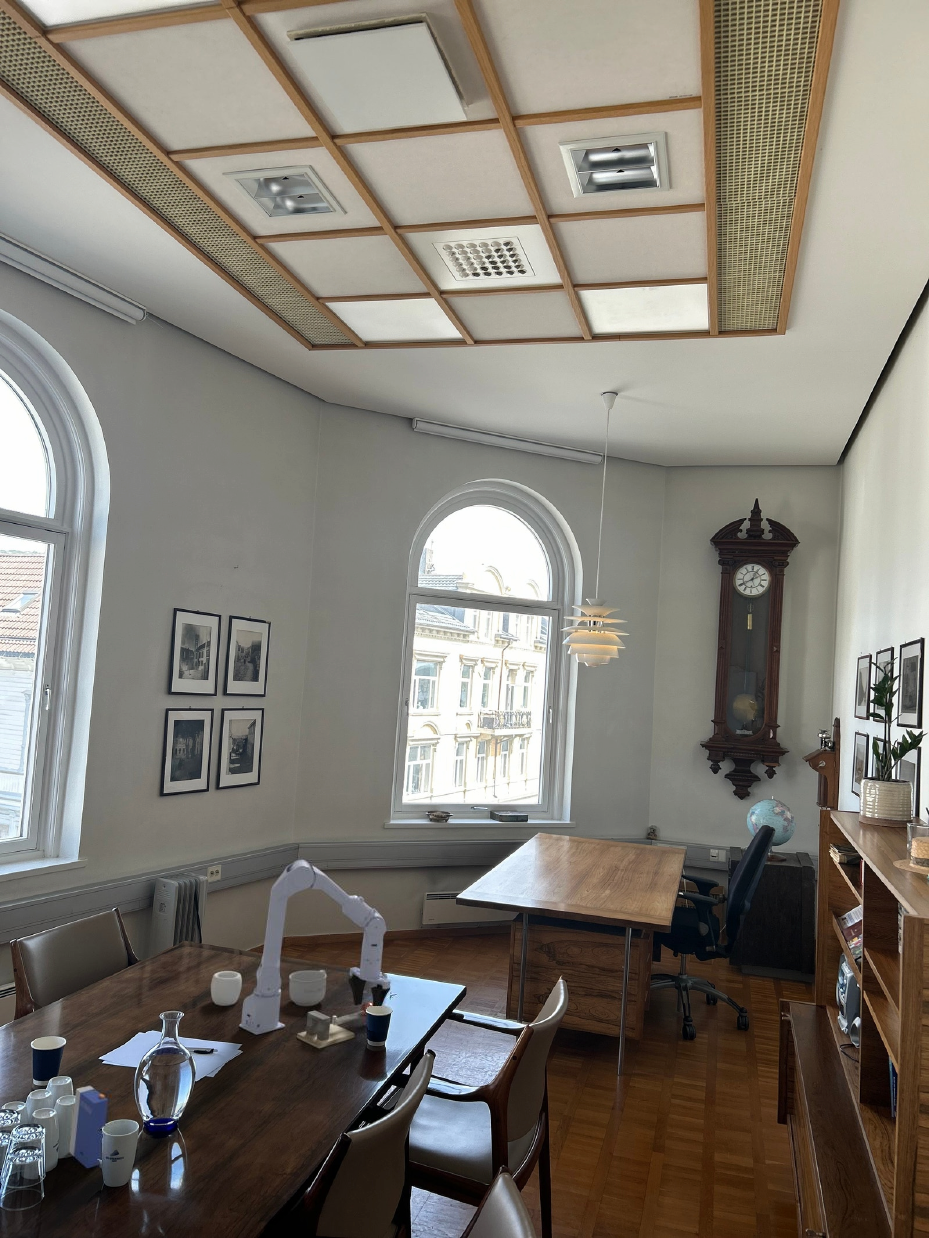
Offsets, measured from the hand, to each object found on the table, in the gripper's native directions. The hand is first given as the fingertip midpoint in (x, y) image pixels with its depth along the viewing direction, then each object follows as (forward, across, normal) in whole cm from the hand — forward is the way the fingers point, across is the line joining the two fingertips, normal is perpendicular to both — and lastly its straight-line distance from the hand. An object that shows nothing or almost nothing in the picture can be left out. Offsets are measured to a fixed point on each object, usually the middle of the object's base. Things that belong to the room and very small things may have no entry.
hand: (367, 1008), depth 249 cm
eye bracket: (+4, -1, +16) cm, 16 cm away
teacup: (+5, +23, +1) cm, 24 cm away
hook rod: (+3, -1, +6) cm, 6 cm away
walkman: (+5, -19, +89) cm, 91 cm away
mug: (+5, +38, +20) cm, 43 cm away
